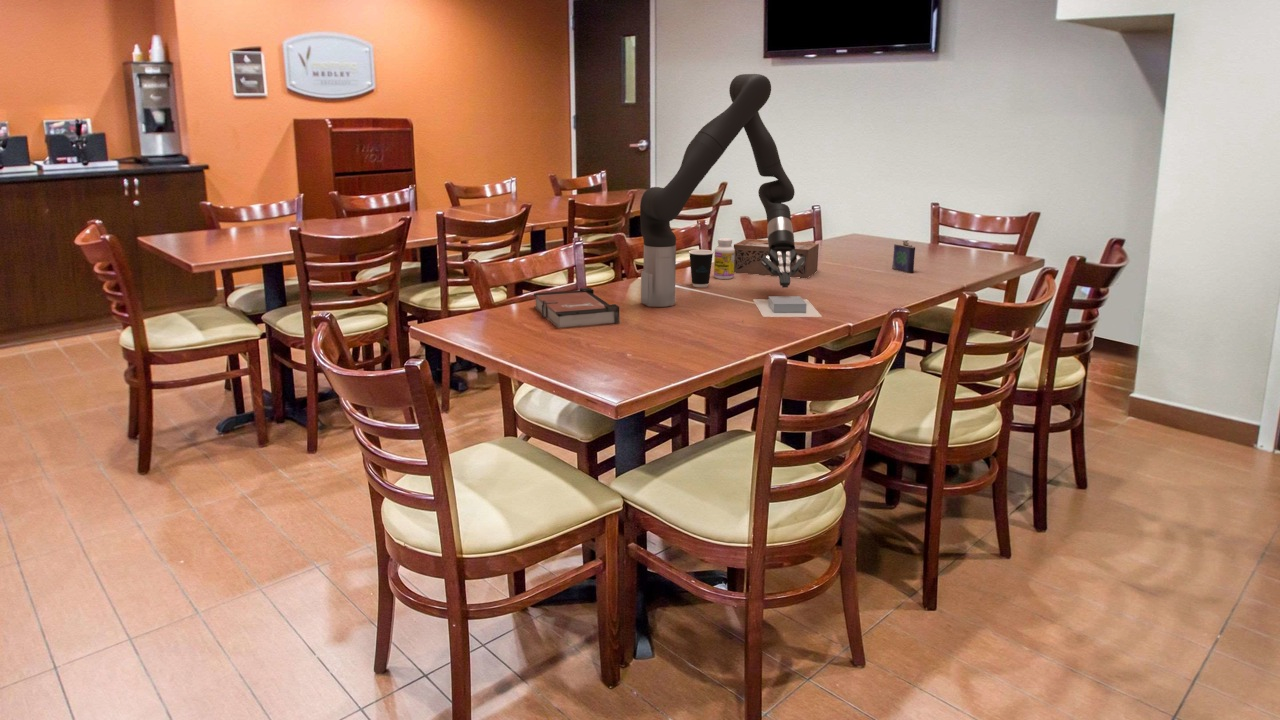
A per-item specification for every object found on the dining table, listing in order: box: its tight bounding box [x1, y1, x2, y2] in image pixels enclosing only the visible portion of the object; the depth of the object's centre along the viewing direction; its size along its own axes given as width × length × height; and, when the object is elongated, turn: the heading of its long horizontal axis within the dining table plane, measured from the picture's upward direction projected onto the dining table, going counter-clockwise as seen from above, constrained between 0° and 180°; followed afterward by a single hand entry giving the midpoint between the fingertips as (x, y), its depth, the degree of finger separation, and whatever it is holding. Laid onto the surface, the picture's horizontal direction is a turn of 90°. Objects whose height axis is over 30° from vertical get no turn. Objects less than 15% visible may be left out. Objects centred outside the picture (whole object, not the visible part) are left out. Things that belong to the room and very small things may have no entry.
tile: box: [768, 295, 807, 313], centre depth 250 cm, size 2×9×10 cm
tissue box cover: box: [733, 238, 820, 279], centre depth 306 cm, size 26×14×10 cm, turn 66°
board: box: [752, 298, 823, 318], centre depth 252 cm, size 22×16×1 cm
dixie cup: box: [688, 249, 715, 288], centre depth 283 cm, size 8×8×11 cm
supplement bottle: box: [713, 237, 735, 280], centre depth 296 cm, size 7×7×13 cm
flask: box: [891, 240, 916, 274], centre depth 308 cm, size 9×3×11 cm, turn 28°
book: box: [533, 287, 620, 330], centre depth 244 cm, size 26×18×5 cm
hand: (785, 285), depth 253 cm, fingers closed
